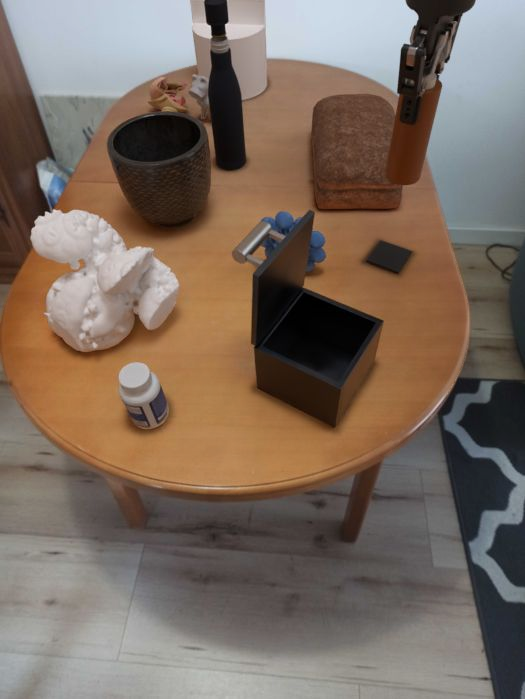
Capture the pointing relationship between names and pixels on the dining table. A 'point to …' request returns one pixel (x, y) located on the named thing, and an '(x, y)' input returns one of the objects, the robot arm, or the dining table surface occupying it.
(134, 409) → the pill bottle
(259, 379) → the black hinged box
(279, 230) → the grapes
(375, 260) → the coaster
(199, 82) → the dog figurine
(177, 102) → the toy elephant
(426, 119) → the amber bottle
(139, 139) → the planter
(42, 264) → the dining table surface
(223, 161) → the black water bottle
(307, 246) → the lid
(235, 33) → the cylinder
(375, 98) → the bread
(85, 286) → the white lumpy sculpture
